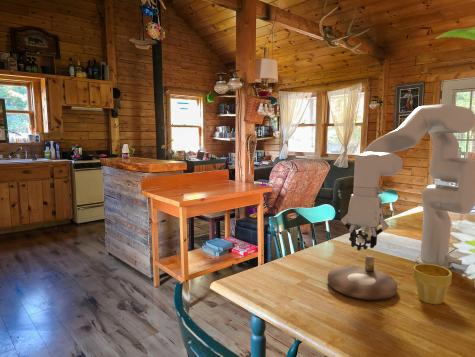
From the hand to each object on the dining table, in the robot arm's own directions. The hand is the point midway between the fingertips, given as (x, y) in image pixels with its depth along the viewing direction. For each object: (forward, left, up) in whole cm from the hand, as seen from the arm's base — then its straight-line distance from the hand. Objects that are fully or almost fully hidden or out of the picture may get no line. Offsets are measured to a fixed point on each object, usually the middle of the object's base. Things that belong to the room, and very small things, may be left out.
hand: (362, 244), depth 111 cm
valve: (0, -2, -1) cm, 2 cm away
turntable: (0, 0, -14) cm, 14 cm away
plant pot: (-20, -4, -15) cm, 25 cm away
